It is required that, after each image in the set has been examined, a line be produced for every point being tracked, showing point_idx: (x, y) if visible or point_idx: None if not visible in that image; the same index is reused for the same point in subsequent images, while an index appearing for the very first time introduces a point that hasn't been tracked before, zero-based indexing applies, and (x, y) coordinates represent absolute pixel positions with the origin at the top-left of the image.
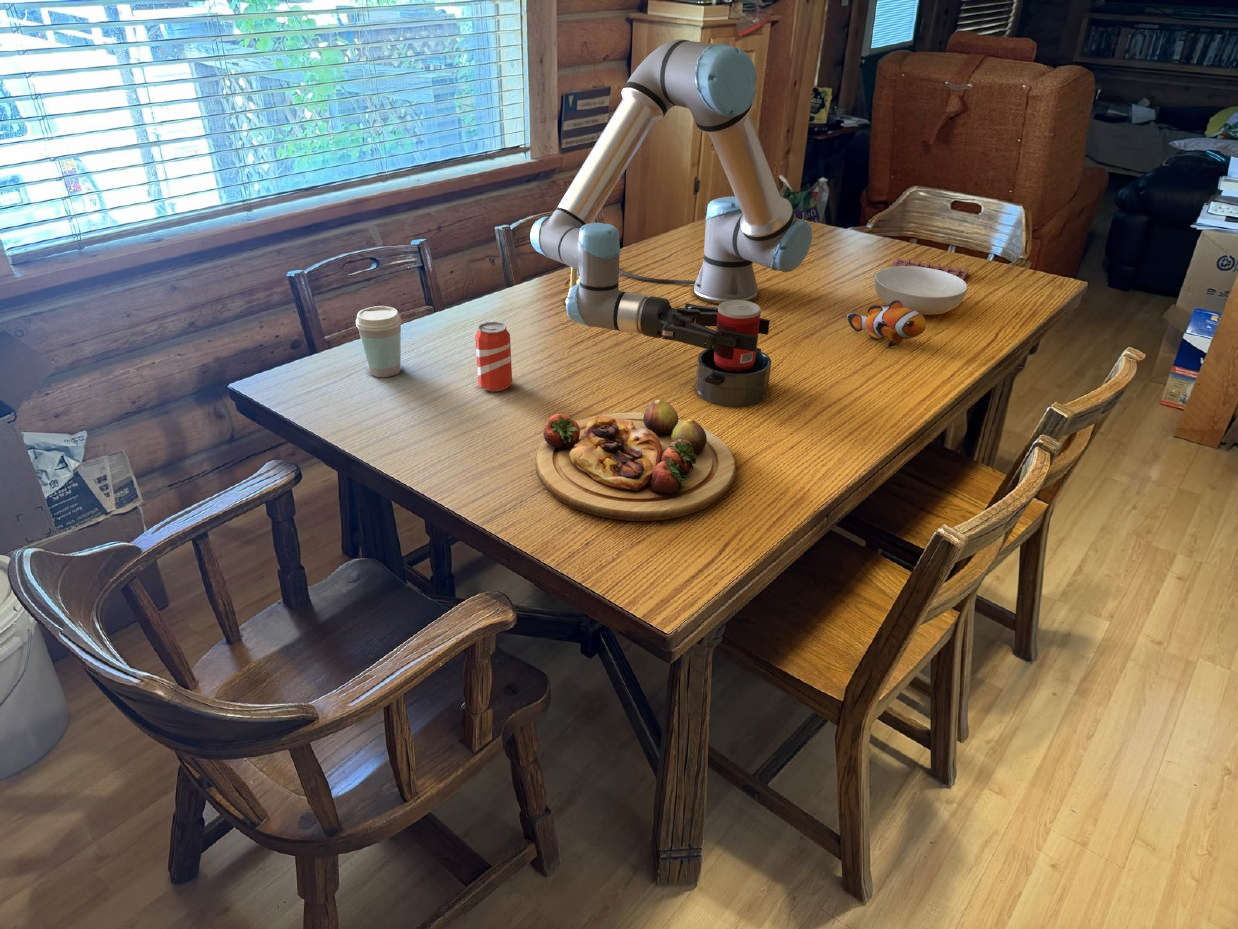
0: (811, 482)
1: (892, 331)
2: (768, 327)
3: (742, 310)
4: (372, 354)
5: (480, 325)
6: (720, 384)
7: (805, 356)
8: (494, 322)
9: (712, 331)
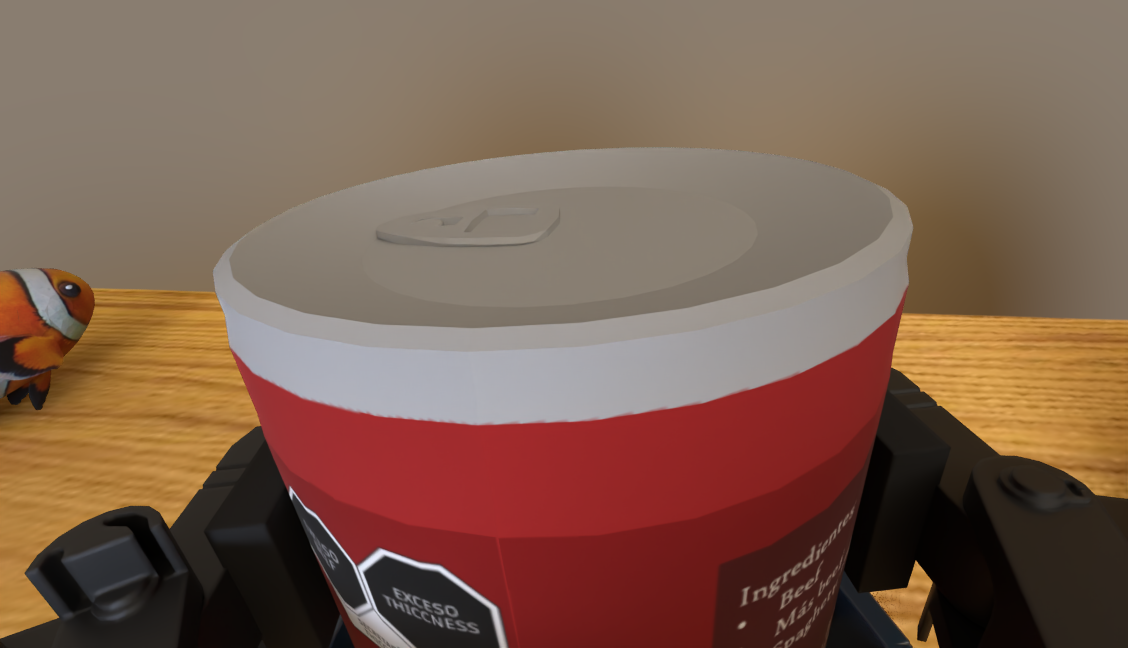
0: (976, 344)
1: (50, 341)
2: None
3: (580, 210)
4: None
5: None
6: None
7: (43, 598)
8: None
9: (1080, 550)
